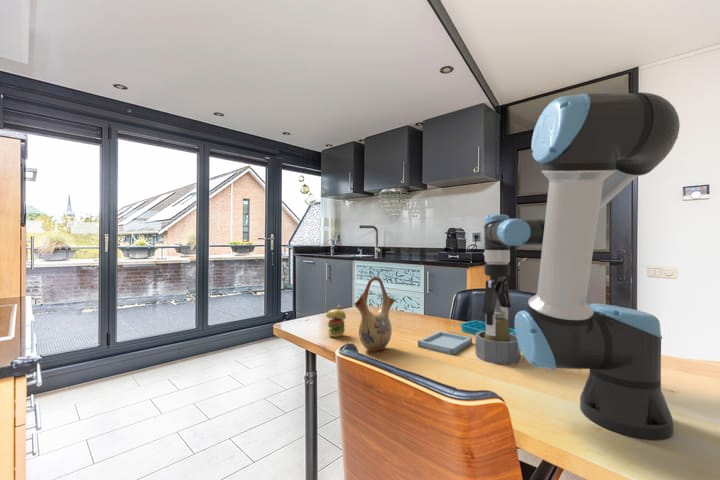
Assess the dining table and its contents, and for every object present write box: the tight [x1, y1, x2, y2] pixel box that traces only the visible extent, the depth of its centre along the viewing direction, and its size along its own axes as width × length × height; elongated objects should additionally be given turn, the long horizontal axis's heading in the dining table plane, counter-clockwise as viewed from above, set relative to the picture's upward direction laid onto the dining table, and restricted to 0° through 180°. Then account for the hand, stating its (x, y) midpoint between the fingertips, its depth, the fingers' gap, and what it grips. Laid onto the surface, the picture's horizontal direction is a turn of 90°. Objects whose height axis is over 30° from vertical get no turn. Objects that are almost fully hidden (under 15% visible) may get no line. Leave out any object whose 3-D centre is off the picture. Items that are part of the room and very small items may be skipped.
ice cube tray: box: [459, 320, 516, 336], centre depth 129 cm, size 12×20×3 cm, turn 34°
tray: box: [417, 330, 473, 356], centre depth 116 cm, size 16×13×2 cm
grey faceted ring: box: [474, 331, 522, 365], centre depth 104 cm, size 13×13×6 cm
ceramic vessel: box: [353, 276, 396, 352], centre depth 111 cm, size 16×9×25 cm, turn 121°
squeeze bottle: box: [485, 299, 510, 342], centre depth 104 cm, size 8×8×18 cm
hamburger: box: [326, 304, 347, 338], centre depth 128 cm, size 8×7×12 cm
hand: (497, 330), depth 104 cm, fingers open, 12 cm apart
